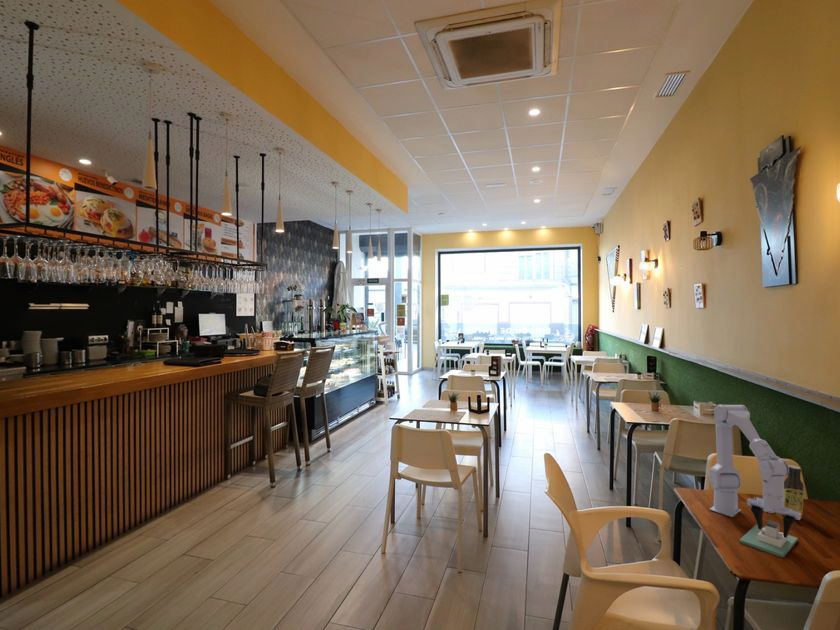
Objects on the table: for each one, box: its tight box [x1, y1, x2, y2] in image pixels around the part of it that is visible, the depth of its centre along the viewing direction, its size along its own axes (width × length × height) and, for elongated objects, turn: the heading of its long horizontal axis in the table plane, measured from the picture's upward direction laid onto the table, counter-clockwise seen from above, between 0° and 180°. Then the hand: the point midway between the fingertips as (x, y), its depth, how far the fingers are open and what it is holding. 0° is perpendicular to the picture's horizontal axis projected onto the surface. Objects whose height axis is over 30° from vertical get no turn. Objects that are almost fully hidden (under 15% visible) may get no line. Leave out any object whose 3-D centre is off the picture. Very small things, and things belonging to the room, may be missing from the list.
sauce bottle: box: [783, 464, 805, 519], centre depth 171 cm, size 7×6×20 cm
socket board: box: [739, 524, 799, 559], centre depth 153 cm, size 18×12×3 cm, turn 128°
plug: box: [764, 519, 780, 540], centre depth 152 cm, size 4×3×6 cm
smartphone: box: [753, 496, 776, 515], centre depth 182 cm, size 7×1×15 cm
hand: (772, 532), depth 152 cm, fingers open, 6 cm apart
